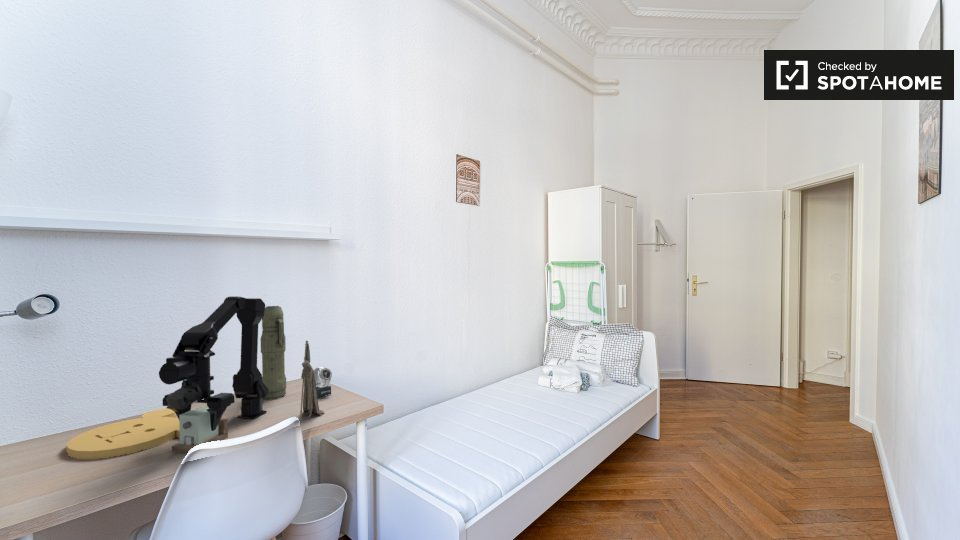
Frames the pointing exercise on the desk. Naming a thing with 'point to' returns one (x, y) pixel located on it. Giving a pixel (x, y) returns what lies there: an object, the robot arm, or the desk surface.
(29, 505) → the desk surface
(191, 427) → the cabinet block
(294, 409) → the desk surface
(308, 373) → the wizard figurine
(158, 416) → the decorative plaque
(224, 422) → the cleat board
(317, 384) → the watch
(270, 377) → the thermos
